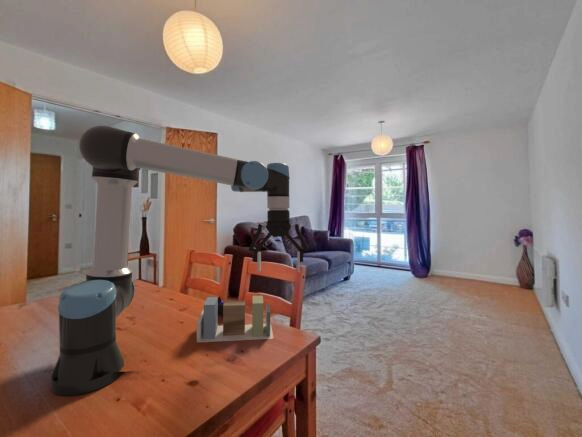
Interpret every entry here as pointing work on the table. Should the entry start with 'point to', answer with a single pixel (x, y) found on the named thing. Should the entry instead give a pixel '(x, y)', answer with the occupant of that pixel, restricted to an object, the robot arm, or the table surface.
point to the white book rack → (220, 336)
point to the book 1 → (210, 317)
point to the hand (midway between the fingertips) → (279, 271)
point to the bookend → (267, 319)
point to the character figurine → (220, 306)
